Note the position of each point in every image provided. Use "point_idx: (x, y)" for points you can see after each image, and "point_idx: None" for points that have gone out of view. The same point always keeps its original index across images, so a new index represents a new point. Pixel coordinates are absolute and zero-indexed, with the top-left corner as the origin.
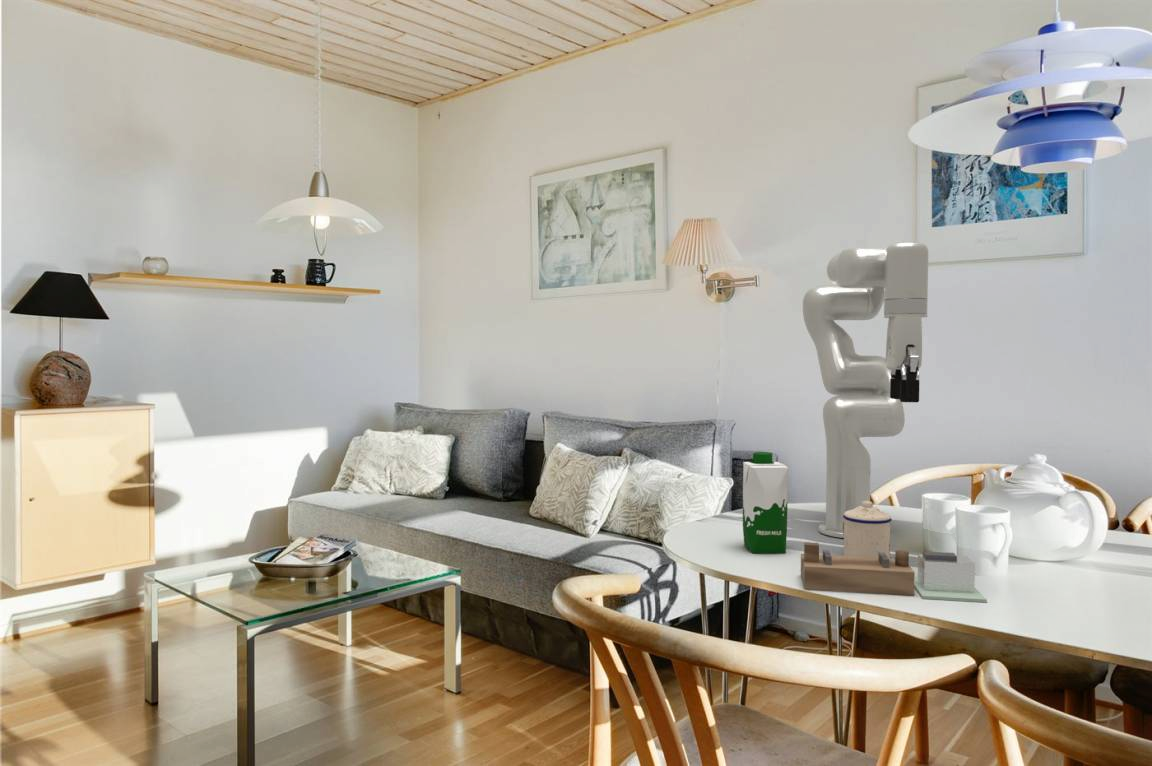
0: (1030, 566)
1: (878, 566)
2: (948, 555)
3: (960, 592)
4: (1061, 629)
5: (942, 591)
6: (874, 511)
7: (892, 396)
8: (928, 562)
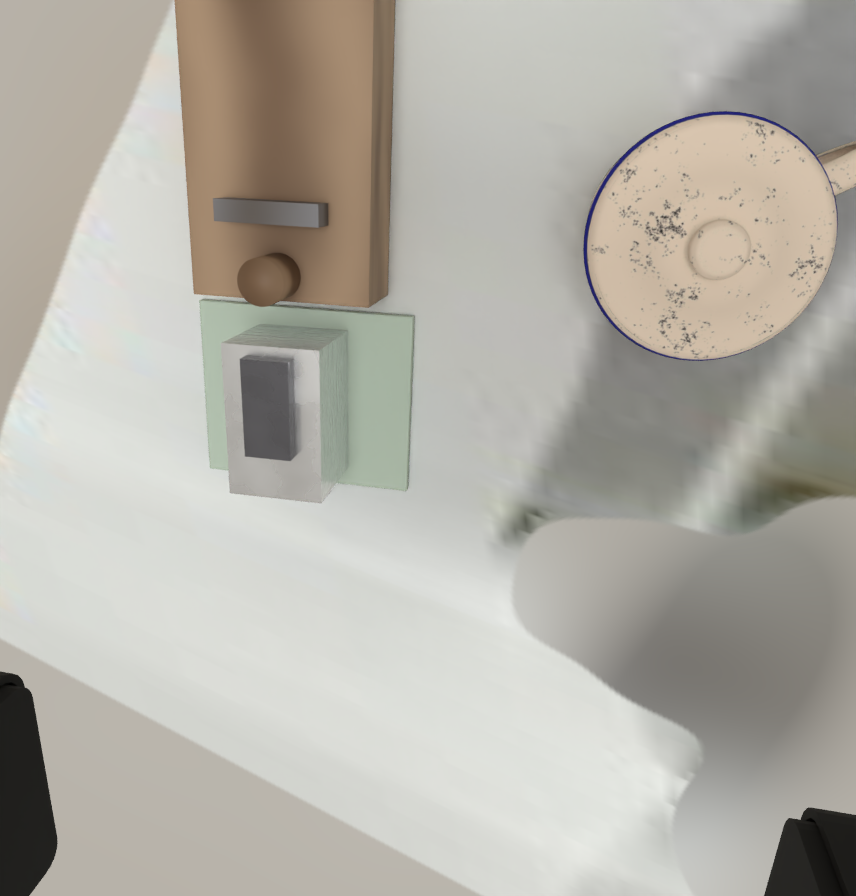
0: (617, 733)
1: (239, 182)
2: (249, 432)
3: None
4: (58, 545)
5: None
6: (649, 272)
7: (794, 849)
8: (223, 354)
